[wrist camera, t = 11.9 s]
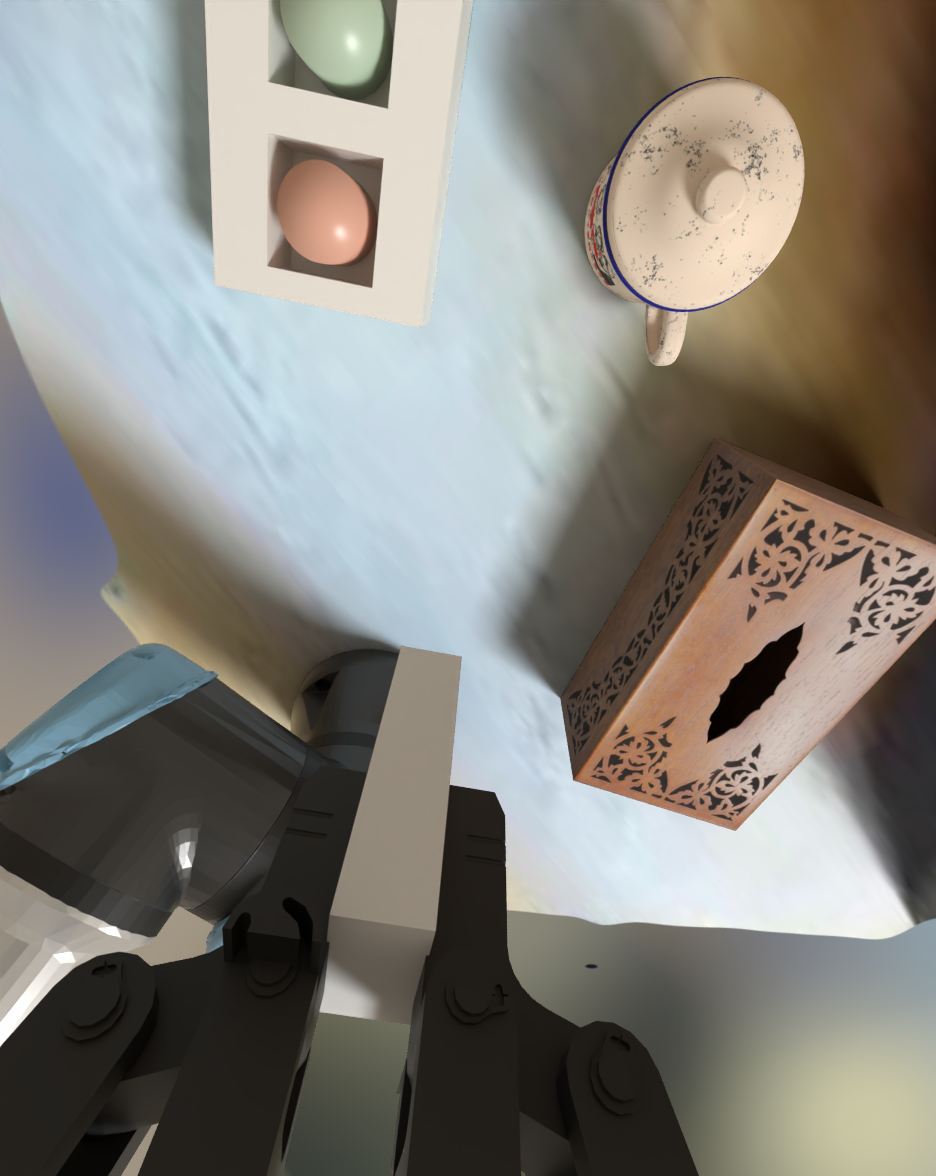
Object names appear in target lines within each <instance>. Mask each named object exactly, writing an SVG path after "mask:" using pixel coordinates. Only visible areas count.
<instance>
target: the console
mask: <svg viewBox="0 0 936 1176" xmlns="http://www.w3.org/2000/svg"><path fill="white" fill-rule="evenodd" d="M473 1H474V0H381V2H382V4H383V7H384V9H385V12H386V14H387V17H388V20H389V22H390V26H391V30H392V37H393V55H392V61H391V65H390V69H389V71H388V74H387V76H386V78H385V80H384V82H383V83H382V85H381V86H380V87H379V88H378V89H377V90H376V91H375V92H374V93H373V94H371V95H369V96H368V97H365V98H363V99H358V100H350V99H345V98H341V97H339V96H337V95H335V94H334V93H332V92H331V91H330V90H329V89H327V88H326V87H325V86H324V84H323V83H322V82H321V81H320V80H319V79H318V77H317V76H316V75H315V74H314V73H313V71H312V70H311V69H310V68H309V67H308V65H307V64H306V63H305V62H304V61H303V60H302V58H301V57H300V56H299V55H298V53H297V52H296V51H295V49H294V48H293V46H292V44H291V42H290V41H289V38H288V36H287V34H286V31H285V28H284V25H283V21H282V16H281V10H280V0H205V24H206V53H207V82H208V111H209V140H210V169H211V198H212V227H213V256H214V285H216V286H221V287H226V288H231V289H236V290H240V291H245V292H250V293H255V294H260V295H265V296H270V297H274V298H279V299H284V300H289V301H294V302H299V303H304V304H308V305H313V306H318V307H323V308H328V309H333V310H338V311H342V312H347V313H352V314H357V315H362V316H367V317H371V318H376V319H381V320H386V321H391V322H396V323H401V324H405V325H410V326H415V327H420V328H421V327H423V326H425V325H427V324H429V323H430V317H431V310H432V303H433V295H434V288H435V280H436V273H437V266H438V258H439V251H440V244H441V236H442V229H443V222H444V214H445V207H446V199H447V192H448V185H449V177H450V170H451V163H452V155H453V148H454V141H455V133H456V126H457V118H458V111H459V104H460V96H461V89H462V82H463V74H464V67H465V59H466V52H467V45H468V37H469V30H470V23H471V15H472V8H473ZM316 159H317V160H323V161H327V162H329V163H332V164H334V165H335V166H337V167H338V168H340V169H341V170H342V171H344V172H345V173H346V174H347V175H349V176H350V177H351V178H353V179H354V180H355V181H356V182H358V183H359V184H360V185H361V186H362V187H363V188H364V189H365V190H366V192H367V193H368V195H369V196H370V198H371V200H372V202H373V205H374V207H375V211H376V215H377V235H376V239H375V242H374V245H373V247H372V249H371V251H370V252H369V253H368V255H367V256H366V257H365V258H364V259H363V260H361V261H360V262H358V263H356V264H354V265H351V266H335V265H329V264H322V263H317V262H313V261H311V260H309V259H307V258H305V257H303V256H302V255H301V254H299V253H298V252H297V251H296V250H295V249H294V248H293V247H292V246H291V244H290V243H289V242H288V240H287V239H286V237H285V235H284V233H283V231H282V228H281V226H280V222H279V218H278V212H277V198H278V192H279V189H280V185H281V183H282V181H283V179H284V177H285V176H286V174H287V173H288V172H289V171H290V170H291V169H292V168H293V167H294V166H295V165H297V164H299V163H301V162H303V161H307V160H316Z"/></svg>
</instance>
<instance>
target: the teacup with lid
mask: <svg viewBox="0 0 936 1176" xmlns="http://www.w3.org/2000/svg"><path fill="white" fill-rule="evenodd" d="M803 184H804V156H803V149H802V144H801V140H800V137H799V133H798V130H797V128H796V125H795V123H794V121H793V119H792V117H791V116H790V114H789V112H788V111H787V110H786V108H785V107H784V105H783V104H782V103H781V102H780V101H779V100H778V99H777V98H776V97H775V96H774V95H773V94H771V93H770V92H769V91H767V90H766V89H764V88H762V87H761V86H759V85H756V84H754V83H752V82H750V81H746V80H743V79H739V78H732V77H714V78H707V79H703V80H699V81H696V82H693V83H690V84H687V85H685V86H683V87H681V88H679V89H677V90H675V91H674V92H672V93H670V94H669V95H667V96H666V97H664V98H663V99H662V100H660V101H659V102H658V103H656V104H655V105H654V106H653V107H652V108H651V109H650V110H649V111H648V112H647V113H646V114H645V115H644V116H643V117H642V118H641V119H640V120H639V122H638V123H637V124H636V125H635V127H634V128H633V129H632V131H631V132H630V134H629V135H628V137H627V138H626V140H625V141H624V143H623V145H622V147H621V149H620V150H619V152H618V154H617V155H616V156H615V157H614V158H613V159H612V160H611V162H610V163H609V164H608V165H607V167H606V168H605V169H604V171H603V172H602V174H601V175H600V177H599V179H598V181H597V183H596V185H595V187H594V189H593V191H592V194H591V197H590V200H589V203H588V207H587V212H586V217H585V231H584V235H585V245H586V251H587V255H588V258H589V261H590V264H591V266H592V268H593V271H594V272H595V274H596V276H597V277H598V279H599V280H600V281H601V283H602V284H603V285H604V286H605V287H606V288H607V289H608V290H610V291H611V292H612V293H614V294H615V295H616V296H618V297H620V298H622V299H625V300H627V301H631V302H635V303H643V304H646V313H645V326H644V339H645V348H646V352H647V356H648V358H649V360H650V362H651V363H652V364H654V365H656V366H667V365H670V364H672V363H673V362H674V361H675V360H676V358H677V357H678V355H679V353H680V350H681V347H682V344H683V341H684V336H685V331H686V325H687V318H688V312H693V311H699V310H704V309H707V308H711V307H714V306H716V305H719V304H721V303H723V302H725V301H727V300H729V299H731V298H733V297H734V296H736V295H737V294H739V293H740V292H742V291H743V290H744V289H746V288H747V287H748V286H749V285H751V284H752V283H753V282H754V281H755V280H756V279H757V278H758V277H759V276H760V275H761V274H762V273H763V272H764V271H765V270H766V268H767V267H768V266H769V265H770V264H771V262H772V261H773V260H774V258H775V257H776V255H777V254H778V253H779V251H780V249H781V248H782V246H783V245H784V243H785V241H786V239H787V237H788V235H789V233H790V231H791V229H792V226H793V224H794V222H795V219H796V216H797V213H798V210H799V206H800V202H801V197H802V192H803Z"/></svg>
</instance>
